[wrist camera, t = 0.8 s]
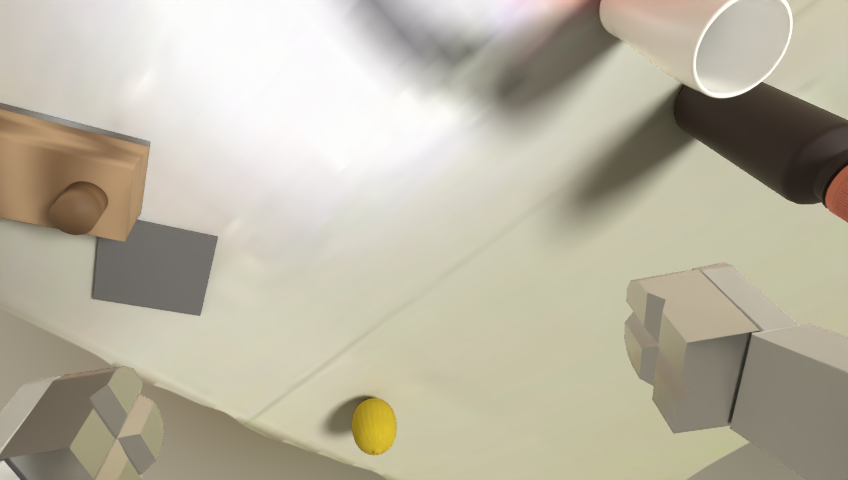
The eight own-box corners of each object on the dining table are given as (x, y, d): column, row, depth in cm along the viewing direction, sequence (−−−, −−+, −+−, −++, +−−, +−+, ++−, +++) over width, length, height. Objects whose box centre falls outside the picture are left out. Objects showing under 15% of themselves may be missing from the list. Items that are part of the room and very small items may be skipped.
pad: (95, 294, 52) (93, 298, 51) (102, 212, 47) (100, 215, 47) (201, 311, 55) (200, 315, 55) (217, 236, 51) (216, 240, 50)
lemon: (372, 378, 66) (378, 433, 59) (400, 397, 69) (409, 450, 62) (341, 401, 67) (343, 457, 61) (370, 418, 70) (376, 473, 64)
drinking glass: (573, 22, 45) (669, 74, 33) (622, -59, 42) (747, -34, 30) (629, 56, 47) (738, 116, 35) (679, -18, 44) (816, 20, 32)
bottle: (660, 125, 52) (816, 235, 36) (694, 57, 49) (884, 145, 32) (714, 136, 54) (886, 245, 38) (751, 71, 50) (958, 161, 34)
